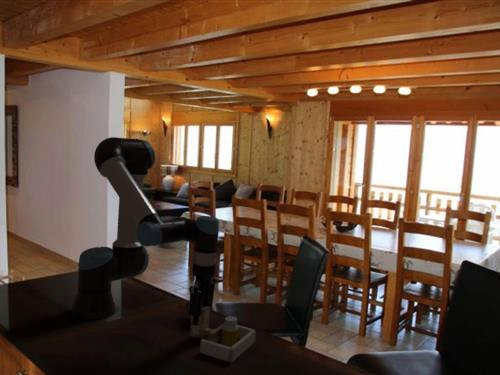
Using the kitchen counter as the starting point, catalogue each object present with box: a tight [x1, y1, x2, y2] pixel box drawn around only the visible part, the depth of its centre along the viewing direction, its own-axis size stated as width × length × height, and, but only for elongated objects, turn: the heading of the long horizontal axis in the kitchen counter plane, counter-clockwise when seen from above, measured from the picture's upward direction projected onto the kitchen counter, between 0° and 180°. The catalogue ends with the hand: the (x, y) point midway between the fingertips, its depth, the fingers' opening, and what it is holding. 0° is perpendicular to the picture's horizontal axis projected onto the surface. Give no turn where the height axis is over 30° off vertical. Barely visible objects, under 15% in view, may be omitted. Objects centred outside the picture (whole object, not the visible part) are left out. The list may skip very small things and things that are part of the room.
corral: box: [199, 324, 257, 364], centre depth 141 cm, size 11×17×4 cm, turn 155°
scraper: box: [189, 305, 225, 344], centre depth 144 cm, size 11×12×10 cm
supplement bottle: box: [220, 315, 239, 347], centre depth 141 cm, size 5×5×10 cm
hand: (199, 331), depth 146 cm, fingers closed on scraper, 3 cm apart
